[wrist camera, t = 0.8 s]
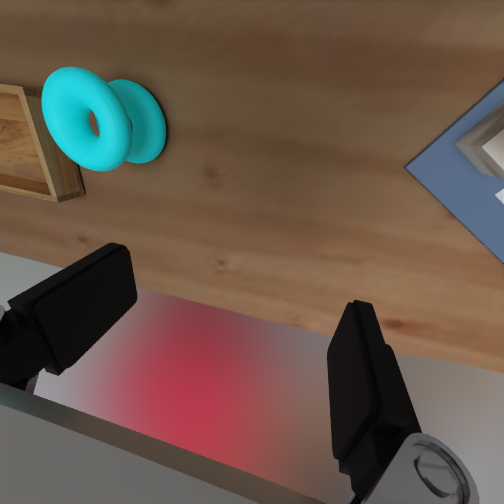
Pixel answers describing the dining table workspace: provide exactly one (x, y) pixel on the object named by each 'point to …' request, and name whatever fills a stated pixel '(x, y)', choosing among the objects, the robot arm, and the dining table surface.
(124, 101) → the donuts
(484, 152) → the cream block
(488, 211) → the board
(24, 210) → the dining table surface
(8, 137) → the tray
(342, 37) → the dining table surface
